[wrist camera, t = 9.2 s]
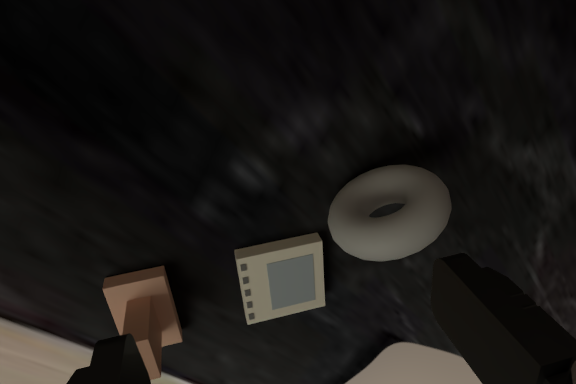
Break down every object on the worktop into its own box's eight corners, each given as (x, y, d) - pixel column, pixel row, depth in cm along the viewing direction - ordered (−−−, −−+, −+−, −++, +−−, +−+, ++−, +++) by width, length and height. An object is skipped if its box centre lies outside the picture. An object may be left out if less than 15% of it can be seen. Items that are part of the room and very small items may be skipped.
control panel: (317, 232, 39) (322, 241, 38) (320, 295, 43) (325, 306, 42) (234, 249, 38) (236, 260, 36) (245, 314, 41) (247, 325, 40)
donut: (320, 222, 39) (363, 291, 30) (307, 194, 37) (348, 259, 28) (414, 173, 39) (483, 228, 30) (404, 143, 37) (476, 192, 28)
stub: (163, 265, 36) (162, 317, 31) (181, 330, 40) (183, 386, 35) (104, 277, 35) (92, 333, 30) (129, 342, 39) (122, 403, 34)
